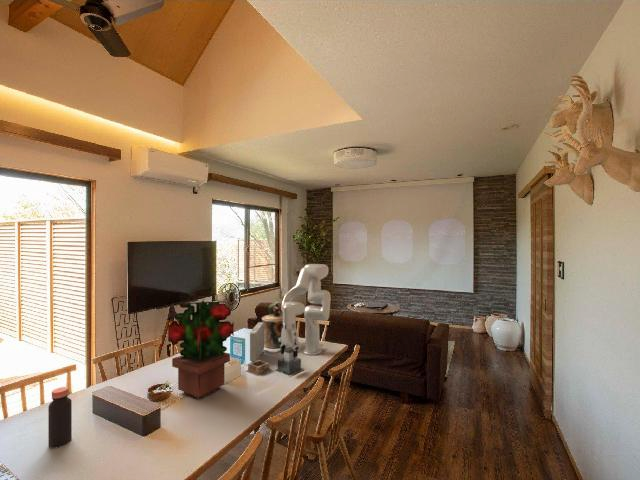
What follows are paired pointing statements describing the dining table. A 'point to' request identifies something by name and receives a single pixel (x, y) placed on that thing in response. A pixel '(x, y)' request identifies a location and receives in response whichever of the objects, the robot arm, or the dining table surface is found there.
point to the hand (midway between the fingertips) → (289, 355)
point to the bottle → (59, 418)
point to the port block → (289, 366)
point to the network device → (257, 341)
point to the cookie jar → (273, 329)
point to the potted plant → (201, 346)
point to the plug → (288, 354)
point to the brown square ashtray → (258, 367)
